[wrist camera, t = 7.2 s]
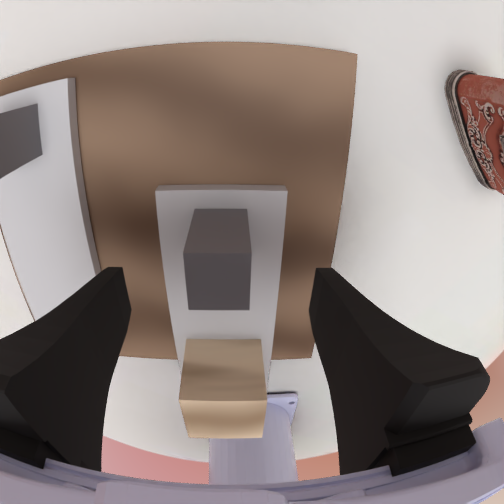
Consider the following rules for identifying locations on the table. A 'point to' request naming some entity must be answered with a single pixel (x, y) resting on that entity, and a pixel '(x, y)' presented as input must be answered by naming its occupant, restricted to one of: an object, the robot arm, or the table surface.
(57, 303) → the empty strip
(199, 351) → the oak block
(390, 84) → the table surface
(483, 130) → the lighter
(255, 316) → the strip
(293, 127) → the walnut board
